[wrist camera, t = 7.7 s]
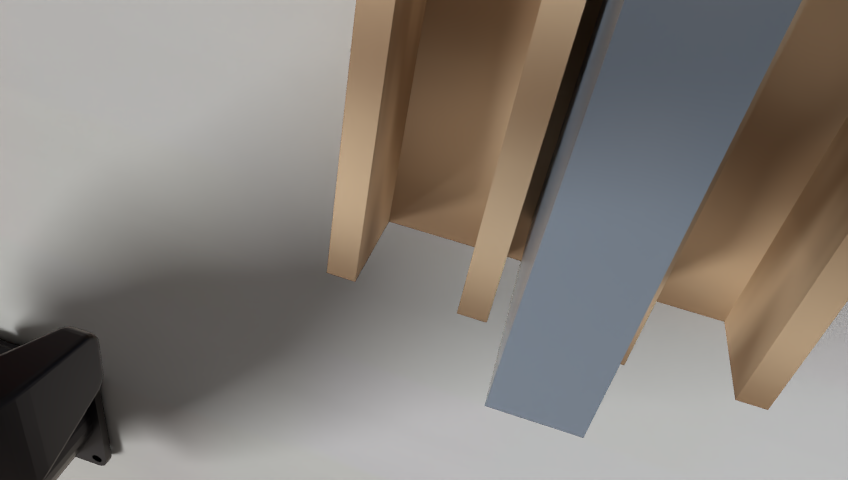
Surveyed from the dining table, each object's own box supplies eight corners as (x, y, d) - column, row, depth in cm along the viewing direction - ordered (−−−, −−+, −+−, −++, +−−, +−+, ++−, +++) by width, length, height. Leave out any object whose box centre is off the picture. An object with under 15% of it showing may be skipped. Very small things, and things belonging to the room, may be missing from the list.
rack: (756, 314, 20) (776, 412, 17) (366, 198, 21) (319, 270, 18) (1050, -152, 13) (1176, -125, 10) (434, -283, 14) (376, -296, 11)
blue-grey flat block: (601, 240, 19) (583, 438, 13) (531, 219, 19) (484, 406, 14) (748, -117, 14) (819, -34, 8) (648, -140, 14) (649, -75, 8)
